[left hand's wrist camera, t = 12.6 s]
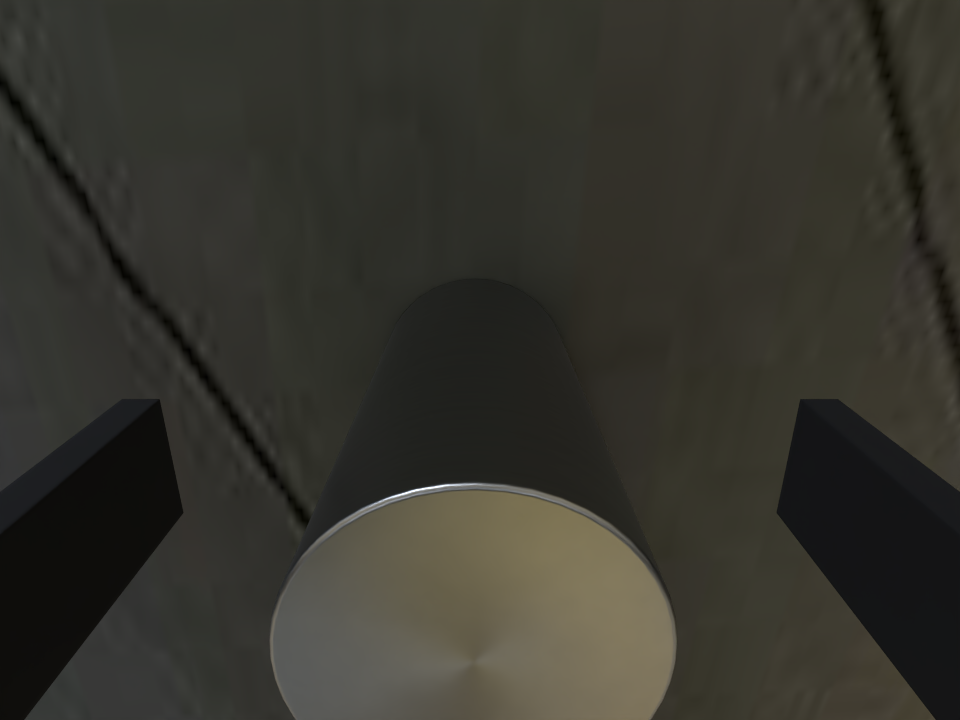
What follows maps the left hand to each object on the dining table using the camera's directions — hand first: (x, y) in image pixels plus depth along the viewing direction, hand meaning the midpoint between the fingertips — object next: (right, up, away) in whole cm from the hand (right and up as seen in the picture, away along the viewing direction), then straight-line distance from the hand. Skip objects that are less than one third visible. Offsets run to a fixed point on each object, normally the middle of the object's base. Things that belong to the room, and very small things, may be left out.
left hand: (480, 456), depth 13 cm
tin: (0, +2, +7) cm, 7 cm away
